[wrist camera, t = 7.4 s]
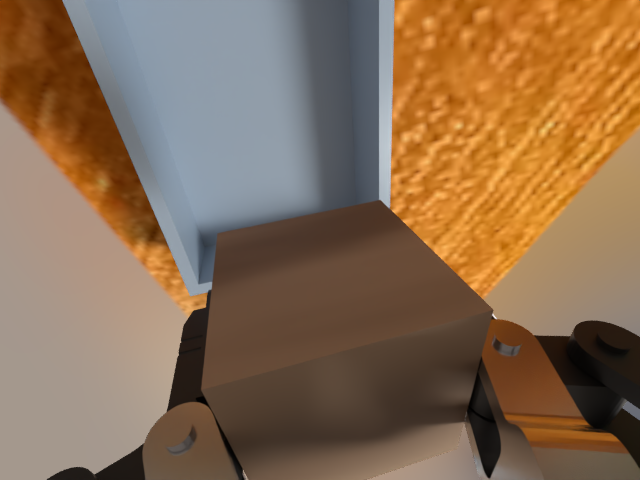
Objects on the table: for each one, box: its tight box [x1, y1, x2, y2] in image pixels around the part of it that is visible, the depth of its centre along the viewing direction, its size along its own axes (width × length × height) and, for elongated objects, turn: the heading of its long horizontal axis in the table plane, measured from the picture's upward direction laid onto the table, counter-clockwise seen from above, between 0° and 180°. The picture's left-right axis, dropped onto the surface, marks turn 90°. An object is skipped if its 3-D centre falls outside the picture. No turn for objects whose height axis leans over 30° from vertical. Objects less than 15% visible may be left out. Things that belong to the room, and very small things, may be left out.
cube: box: [201, 200, 493, 480], centre depth 8 cm, size 5×5×5 cm
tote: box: [62, 0, 394, 296], centre depth 19 cm, size 22×15×6 cm
